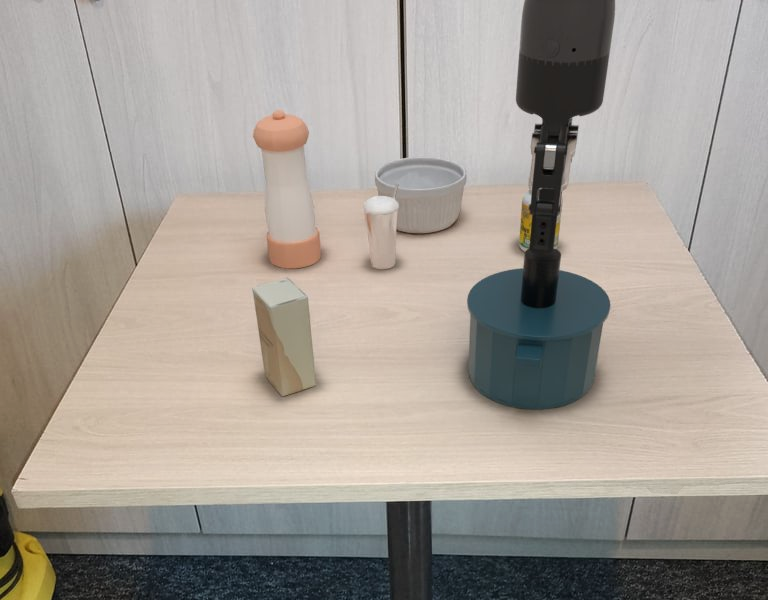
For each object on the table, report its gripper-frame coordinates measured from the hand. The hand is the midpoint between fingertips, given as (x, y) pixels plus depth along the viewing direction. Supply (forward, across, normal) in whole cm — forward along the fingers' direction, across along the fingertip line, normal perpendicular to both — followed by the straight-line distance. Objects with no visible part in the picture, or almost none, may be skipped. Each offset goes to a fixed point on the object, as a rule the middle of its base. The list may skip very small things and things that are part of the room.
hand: (544, 232), depth 79 cm
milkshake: (+16, +24, +22) cm, 36 cm away
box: (+16, -6, +26) cm, 31 cm away
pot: (+16, 0, 0) cm, 16 cm away
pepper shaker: (+16, +24, +35) cm, 45 cm away
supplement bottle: (+16, +32, +2) cm, 36 cm away
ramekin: (+16, +39, +20) cm, 47 cm away
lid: (+8, 0, 0) cm, 8 cm away
